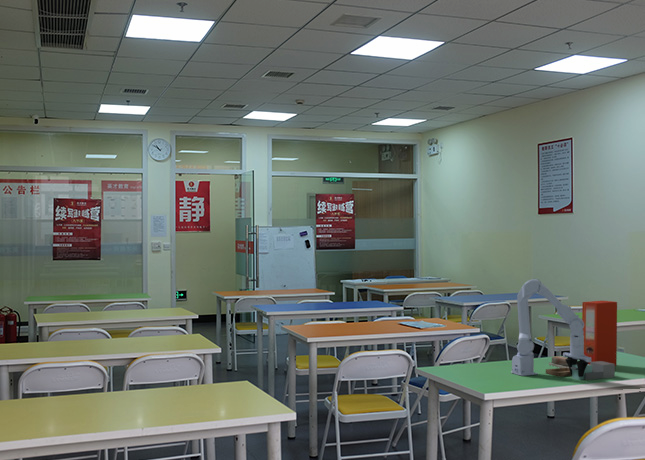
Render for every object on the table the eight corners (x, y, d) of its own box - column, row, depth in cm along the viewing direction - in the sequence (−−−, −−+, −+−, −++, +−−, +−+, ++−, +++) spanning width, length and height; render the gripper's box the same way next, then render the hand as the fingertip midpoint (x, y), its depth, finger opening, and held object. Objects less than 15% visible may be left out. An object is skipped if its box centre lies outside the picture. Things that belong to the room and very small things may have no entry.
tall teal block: (576, 380, 285) (576, 366, 285) (569, 378, 288) (569, 365, 289) (592, 378, 289) (592, 365, 289) (585, 376, 292) (585, 363, 293)
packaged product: (547, 356, 321) (563, 355, 324) (547, 365, 321) (563, 364, 324) (574, 362, 304) (590, 361, 308) (574, 372, 304) (590, 371, 308)
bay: (586, 380, 285) (586, 366, 285) (573, 376, 292) (573, 363, 292) (614, 377, 292) (614, 363, 292) (601, 374, 299) (601, 361, 299)
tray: (559, 376, 292) (559, 372, 292) (545, 373, 299) (545, 369, 299) (580, 374, 297) (580, 370, 297) (566, 371, 305) (566, 367, 305)
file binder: (617, 366, 319) (617, 301, 319) (596, 369, 309) (596, 303, 310) (602, 363, 325) (602, 300, 326) (581, 367, 316) (581, 301, 316)
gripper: (596, 347, 283) (596, 378, 283) (571, 342, 296) (571, 371, 296) (584, 348, 280) (584, 379, 280) (559, 343, 293) (559, 373, 293)
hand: (576, 375), depth 288 cm, fingers closed on tall teal block, 4 cm apart
